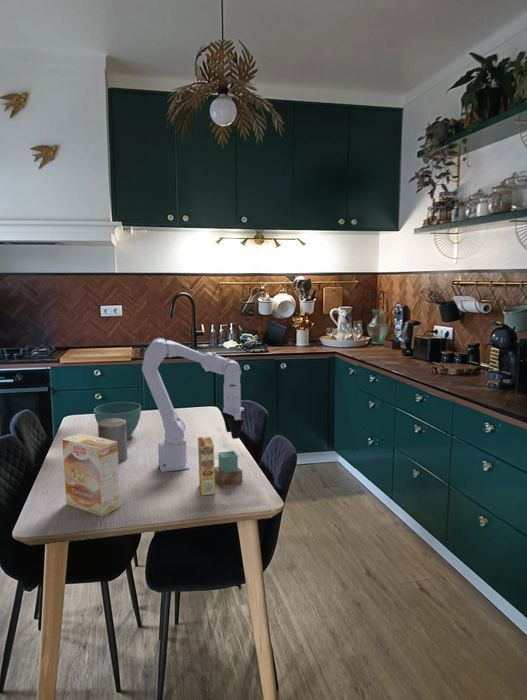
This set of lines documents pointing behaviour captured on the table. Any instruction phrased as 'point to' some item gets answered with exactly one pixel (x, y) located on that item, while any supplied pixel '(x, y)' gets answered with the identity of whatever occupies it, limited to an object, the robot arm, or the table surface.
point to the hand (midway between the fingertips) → (232, 434)
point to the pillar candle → (115, 435)
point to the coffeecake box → (91, 473)
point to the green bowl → (120, 414)
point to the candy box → (206, 465)
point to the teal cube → (228, 461)
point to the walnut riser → (227, 477)
